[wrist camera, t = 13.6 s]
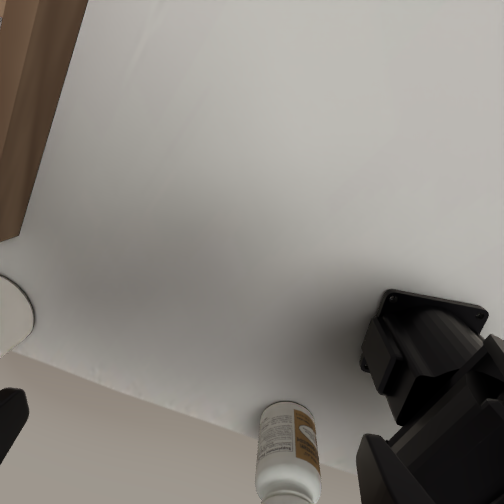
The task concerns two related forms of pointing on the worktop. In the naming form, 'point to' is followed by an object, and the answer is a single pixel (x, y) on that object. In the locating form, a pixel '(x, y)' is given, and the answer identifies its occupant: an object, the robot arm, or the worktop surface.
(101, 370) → the worktop surface
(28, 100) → the socket block
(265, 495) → the pill bottle
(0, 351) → the can
